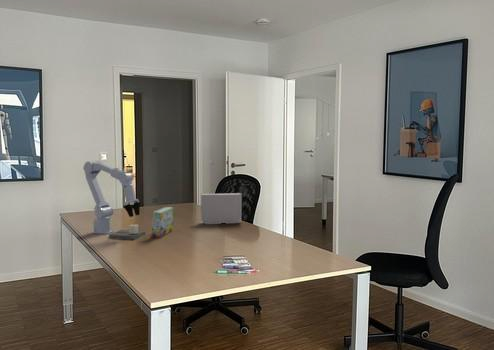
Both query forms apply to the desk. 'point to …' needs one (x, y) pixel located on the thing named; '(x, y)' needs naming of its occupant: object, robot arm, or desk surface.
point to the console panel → (126, 235)
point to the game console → (221, 208)
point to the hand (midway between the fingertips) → (134, 215)
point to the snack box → (162, 222)
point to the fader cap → (133, 229)
